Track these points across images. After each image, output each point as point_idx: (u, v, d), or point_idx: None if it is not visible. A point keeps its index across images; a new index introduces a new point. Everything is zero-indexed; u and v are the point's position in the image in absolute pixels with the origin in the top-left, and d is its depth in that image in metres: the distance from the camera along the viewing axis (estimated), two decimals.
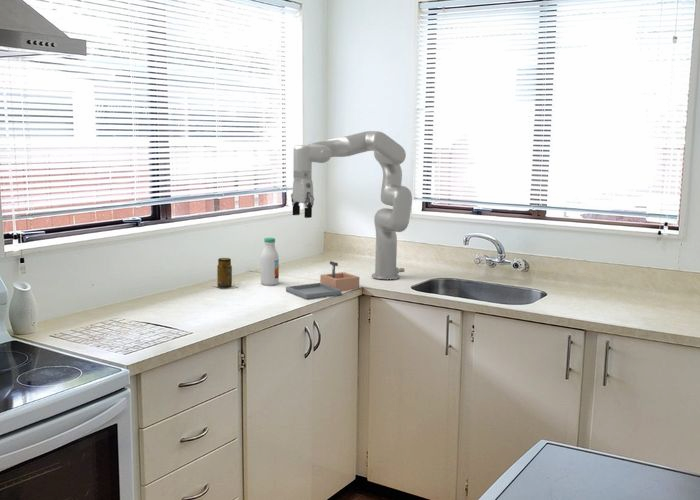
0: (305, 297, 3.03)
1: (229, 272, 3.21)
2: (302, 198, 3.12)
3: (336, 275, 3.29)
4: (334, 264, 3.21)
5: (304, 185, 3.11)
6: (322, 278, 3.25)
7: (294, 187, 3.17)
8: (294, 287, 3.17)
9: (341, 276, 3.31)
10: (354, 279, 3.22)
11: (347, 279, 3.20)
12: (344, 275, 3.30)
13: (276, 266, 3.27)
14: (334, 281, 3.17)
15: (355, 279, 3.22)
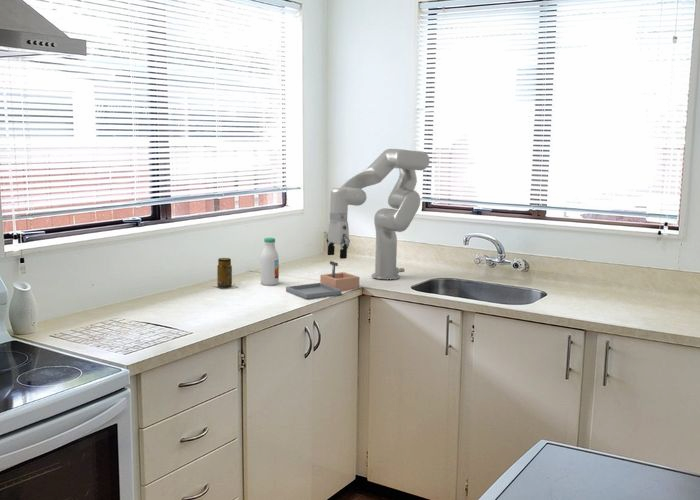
0: (305, 297, 3.03)
1: (229, 272, 3.21)
2: (338, 239, 3.23)
3: (336, 275, 3.29)
4: (334, 264, 3.21)
5: (340, 227, 3.22)
6: (322, 278, 3.25)
7: (330, 228, 3.28)
8: (294, 287, 3.17)
9: (341, 276, 3.31)
10: (354, 279, 3.22)
11: (347, 279, 3.20)
12: (344, 275, 3.30)
13: (276, 266, 3.27)
14: (334, 281, 3.17)
15: (355, 279, 3.22)
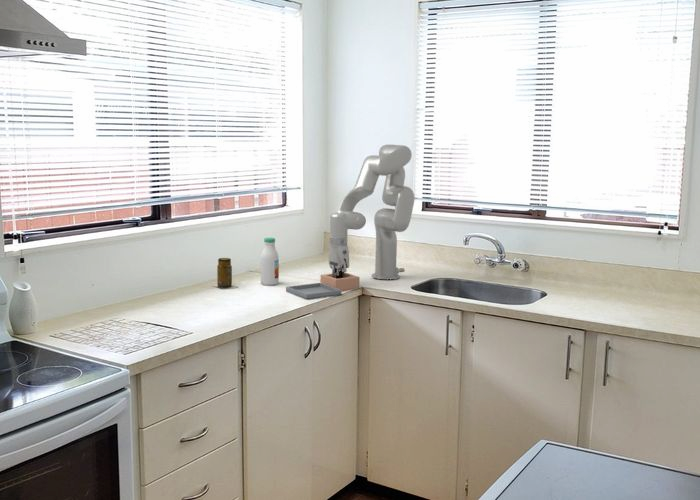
0: (305, 297, 3.03)
1: (229, 272, 3.21)
2: (338, 264, 3.25)
3: None
4: (334, 264, 3.21)
5: (340, 252, 3.24)
6: (322, 278, 3.25)
7: (330, 253, 3.30)
8: (294, 287, 3.17)
9: None
10: (354, 279, 3.22)
11: (347, 279, 3.20)
12: (344, 275, 3.30)
13: (276, 266, 3.27)
14: (334, 281, 3.17)
15: (355, 279, 3.22)
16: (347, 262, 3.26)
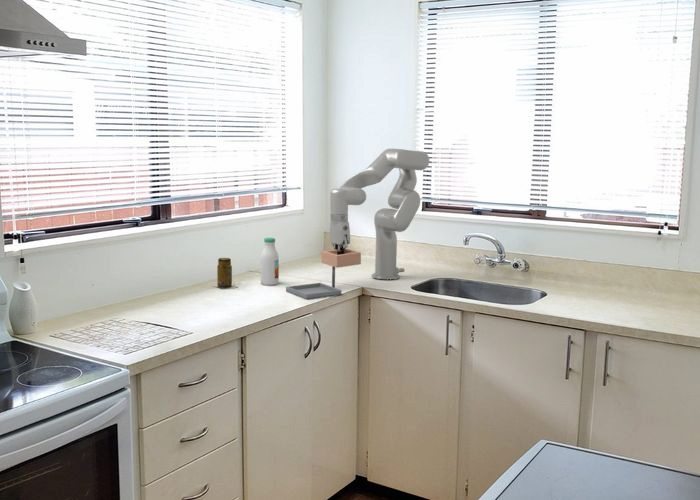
0: (305, 297, 3.03)
1: (229, 272, 3.21)
2: (339, 240, 3.24)
3: None
4: None
5: (341, 228, 3.23)
6: (323, 255, 3.24)
7: (331, 229, 3.28)
8: (294, 287, 3.17)
9: None
10: (355, 255, 3.20)
11: (348, 255, 3.18)
12: (345, 251, 3.28)
13: (276, 266, 3.27)
14: (335, 257, 3.16)
15: (356, 255, 3.21)
16: (348, 238, 3.24)
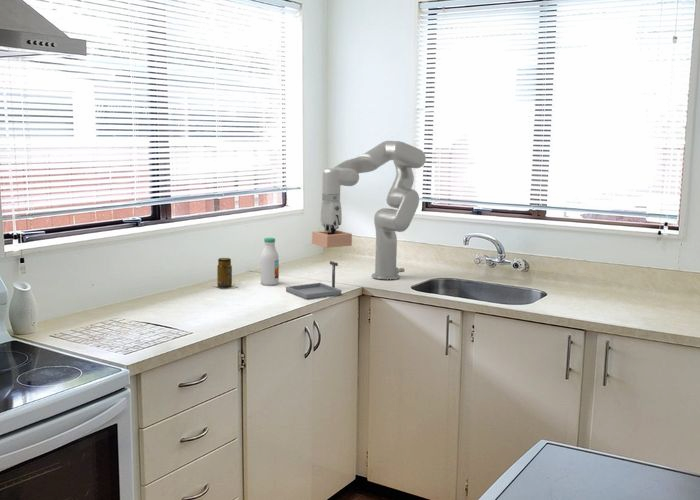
0: (305, 297, 3.03)
1: (229, 272, 3.21)
2: (331, 221, 3.18)
3: None
4: (334, 264, 3.21)
5: (333, 208, 3.17)
6: (314, 235, 3.18)
7: (322, 209, 3.23)
8: (294, 287, 3.17)
9: None
10: (346, 236, 3.15)
11: (339, 235, 3.13)
12: (336, 233, 3.23)
13: (276, 266, 3.27)
14: (326, 237, 3.10)
15: (347, 236, 3.15)
16: (339, 219, 3.19)
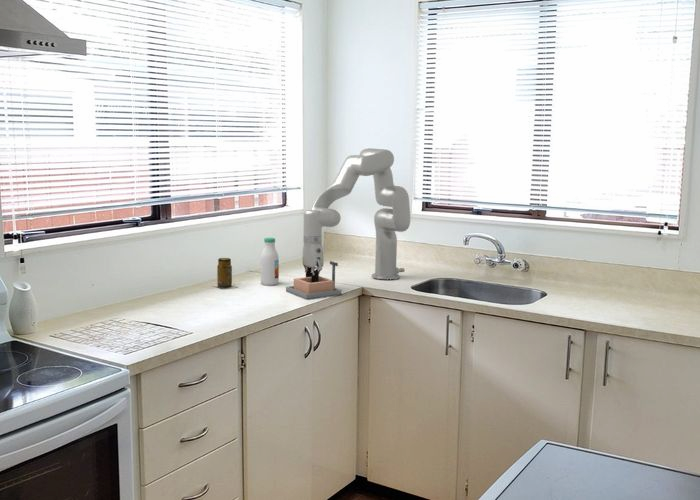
0: (305, 297, 3.03)
1: (229, 272, 3.21)
2: (312, 263, 3.13)
3: (310, 279, 3.18)
4: (334, 264, 3.21)
5: (314, 250, 3.12)
6: (295, 282, 3.14)
7: (304, 251, 3.17)
8: None
9: None
10: (328, 283, 3.10)
11: (321, 283, 3.08)
12: None
13: (276, 266, 3.27)
14: (307, 285, 3.06)
15: (329, 283, 3.11)
16: (321, 261, 3.14)
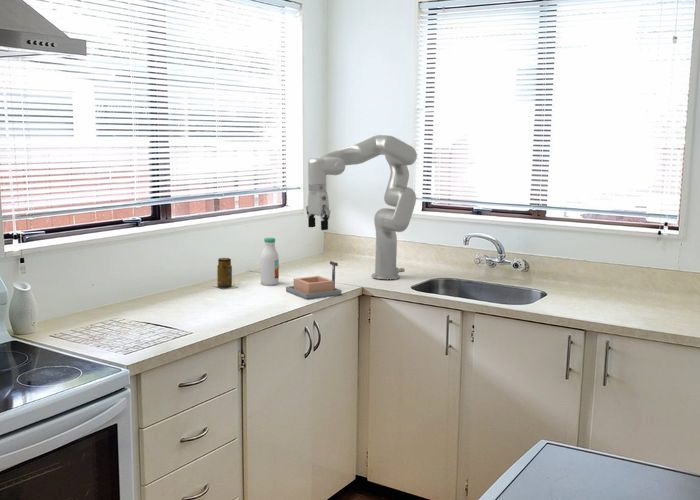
0: (305, 297, 3.03)
1: (229, 272, 3.21)
2: (318, 211, 3.16)
3: (310, 279, 3.18)
4: (334, 264, 3.21)
5: (320, 198, 3.15)
6: (295, 282, 3.14)
7: (309, 200, 3.20)
8: None
9: (315, 280, 3.19)
10: (328, 283, 3.10)
11: (321, 283, 3.08)
12: (318, 279, 3.18)
13: (276, 266, 3.27)
14: (307, 285, 3.06)
15: (329, 283, 3.11)
16: None
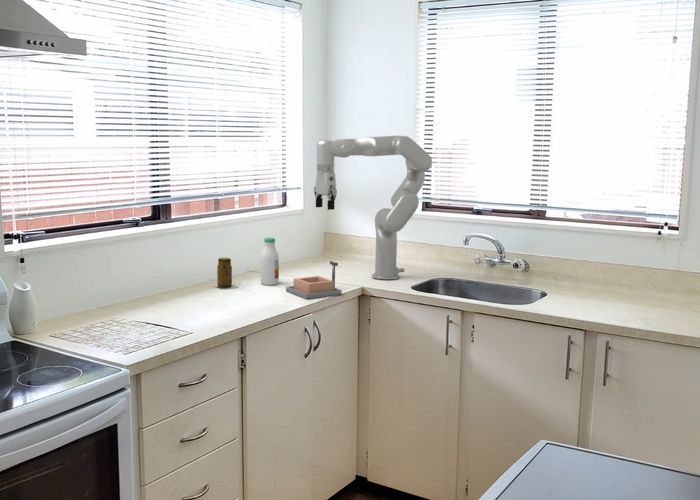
0: (305, 297, 3.03)
1: (229, 272, 3.21)
2: (325, 191, 3.28)
3: (310, 279, 3.18)
4: (334, 264, 3.21)
5: (327, 178, 3.26)
6: (295, 282, 3.14)
7: (317, 180, 3.32)
8: None
9: (315, 280, 3.19)
10: (328, 283, 3.10)
11: (321, 283, 3.08)
12: (318, 279, 3.18)
13: (276, 266, 3.27)
14: (307, 285, 3.06)
15: (329, 283, 3.11)
16: None
